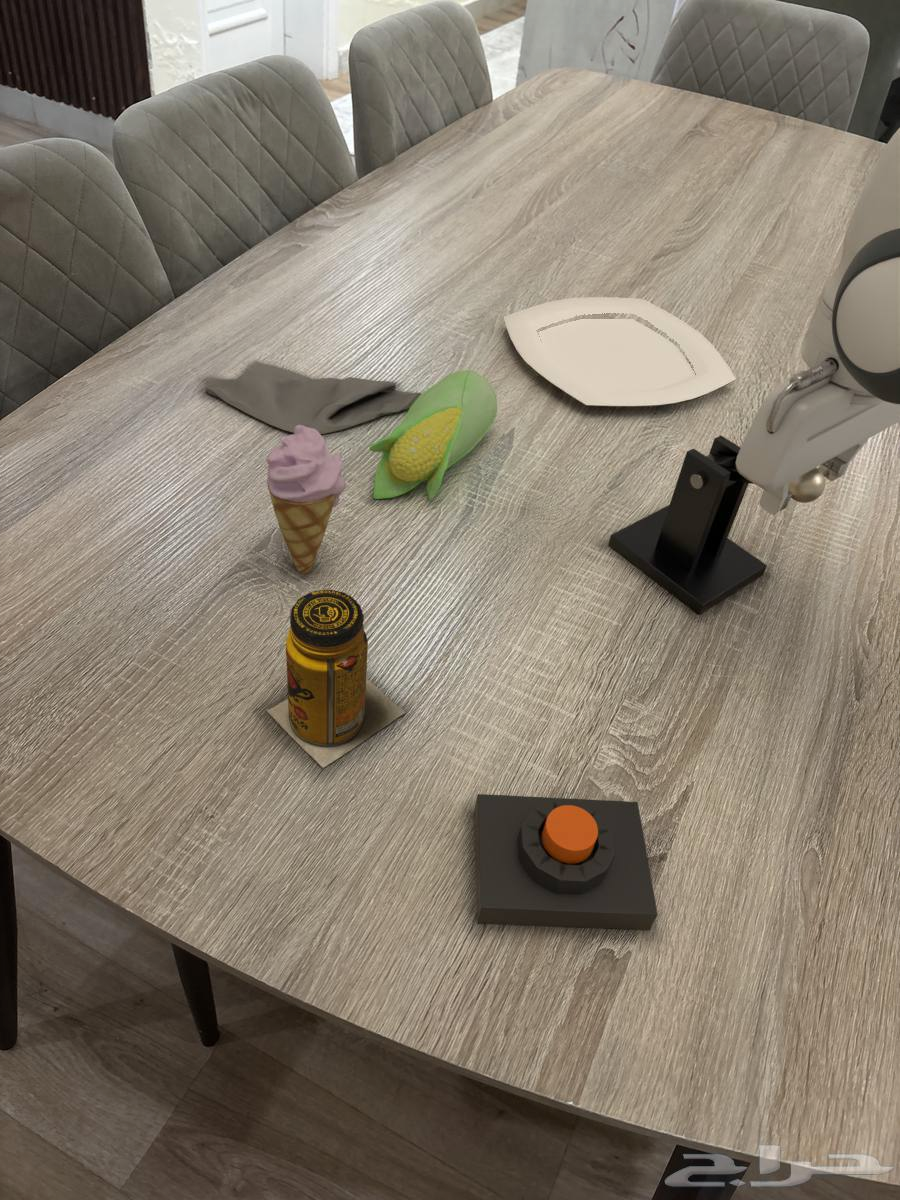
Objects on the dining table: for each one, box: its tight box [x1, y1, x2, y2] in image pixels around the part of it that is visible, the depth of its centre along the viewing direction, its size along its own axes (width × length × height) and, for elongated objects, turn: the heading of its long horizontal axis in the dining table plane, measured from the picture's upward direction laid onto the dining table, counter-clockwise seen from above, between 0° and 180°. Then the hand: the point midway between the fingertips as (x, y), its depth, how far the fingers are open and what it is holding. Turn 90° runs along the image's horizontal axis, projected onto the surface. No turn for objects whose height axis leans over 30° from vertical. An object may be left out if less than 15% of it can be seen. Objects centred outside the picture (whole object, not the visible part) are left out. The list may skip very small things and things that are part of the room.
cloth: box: [204, 361, 422, 435], centre depth 107 cm, size 26×14×2 cm, turn 81°
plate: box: [503, 296, 737, 408], centre depth 121 cm, size 27×27×2 cm
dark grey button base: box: [473, 793, 658, 931], centre depth 66 cm, size 12×9×4 cm
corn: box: [369, 369, 498, 500], centre depth 100 cm, size 8×8×20 cm
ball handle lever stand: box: [607, 435, 768, 616], centre depth 89 cm, size 12×10×13 cm
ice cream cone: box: [266, 425, 347, 575], centre depth 83 cm, size 7×6×15 cm
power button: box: [542, 805, 598, 864], centre depth 64 cm, size 4×4×2 cm
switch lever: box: [705, 453, 826, 504], centre depth 83 cm, size 12×3×3 cm, turn 40°
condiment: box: [266, 589, 406, 769], centre depth 72 cm, size 7×8×12 cm
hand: (801, 491), depth 80 cm, fingers open, 7 cm apart
